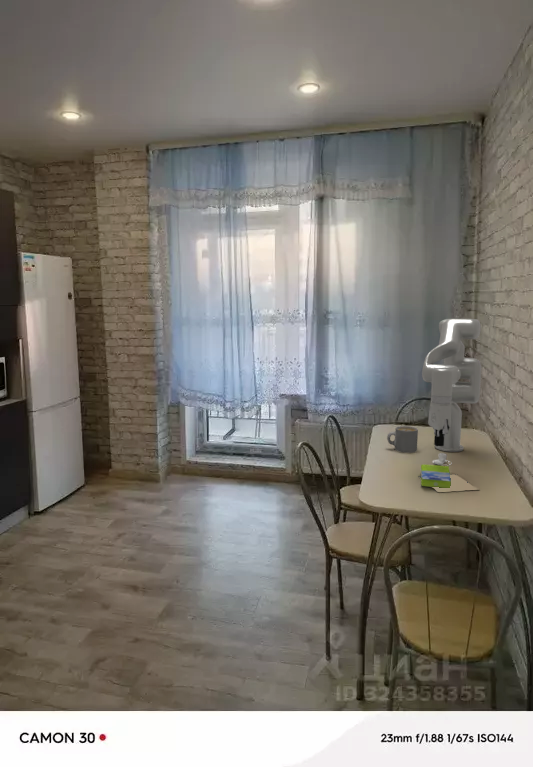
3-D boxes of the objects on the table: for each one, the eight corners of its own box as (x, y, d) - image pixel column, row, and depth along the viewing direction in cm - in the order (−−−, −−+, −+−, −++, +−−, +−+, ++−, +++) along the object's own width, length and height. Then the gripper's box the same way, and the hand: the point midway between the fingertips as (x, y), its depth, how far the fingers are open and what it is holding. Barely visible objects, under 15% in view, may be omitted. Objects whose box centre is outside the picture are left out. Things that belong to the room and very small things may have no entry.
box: (420, 473, 208) (420, 488, 191) (421, 463, 207) (421, 477, 191) (448, 475, 205) (451, 491, 188) (449, 465, 204) (451, 480, 188)
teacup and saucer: (437, 467, 217) (437, 458, 216) (426, 461, 224) (427, 452, 224) (455, 465, 219) (456, 456, 218) (444, 459, 227) (445, 450, 226)
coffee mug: (417, 447, 244) (418, 426, 242) (416, 453, 235) (417, 432, 233) (388, 445, 248) (389, 424, 247) (386, 450, 239) (386, 429, 237)
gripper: (423, 396, 207) (421, 440, 211) (440, 404, 193) (438, 451, 196) (441, 395, 208) (439, 439, 212) (459, 403, 194) (457, 450, 197)
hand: (438, 445), depth 204 cm, fingers closed
